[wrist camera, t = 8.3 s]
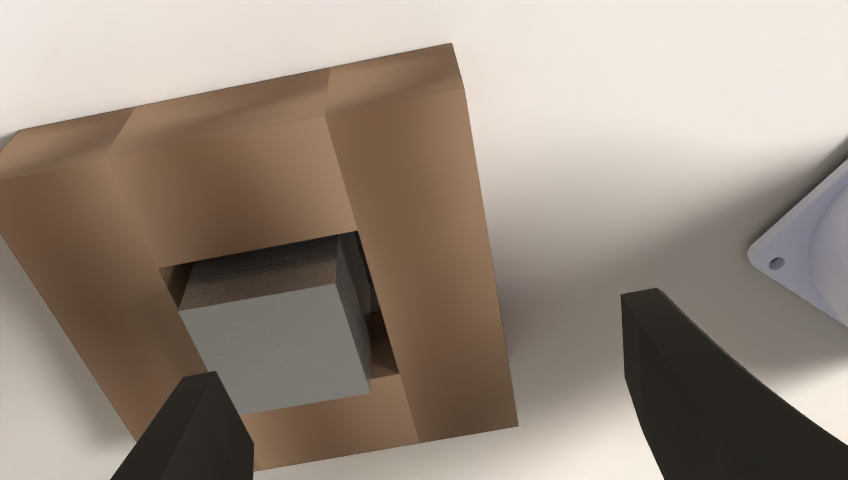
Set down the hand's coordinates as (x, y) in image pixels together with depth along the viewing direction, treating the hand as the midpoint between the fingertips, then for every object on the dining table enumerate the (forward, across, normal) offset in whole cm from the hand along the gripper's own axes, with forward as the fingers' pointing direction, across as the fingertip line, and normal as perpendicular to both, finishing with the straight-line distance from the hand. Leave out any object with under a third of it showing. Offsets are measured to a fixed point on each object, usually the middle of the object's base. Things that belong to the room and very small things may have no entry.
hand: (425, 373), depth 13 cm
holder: (+9, +4, +4) cm, 11 cm away
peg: (+9, +4, +3) cm, 11 cm away
